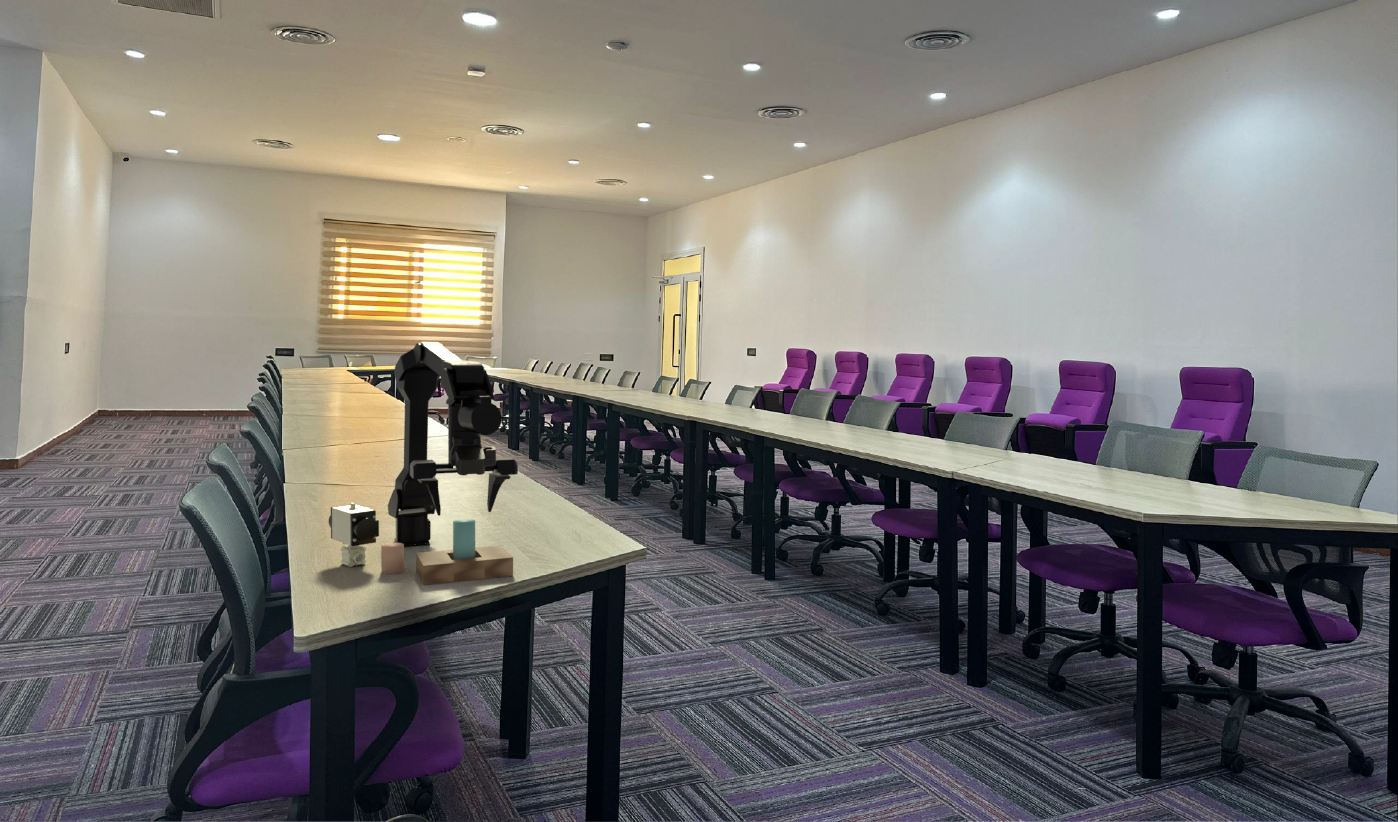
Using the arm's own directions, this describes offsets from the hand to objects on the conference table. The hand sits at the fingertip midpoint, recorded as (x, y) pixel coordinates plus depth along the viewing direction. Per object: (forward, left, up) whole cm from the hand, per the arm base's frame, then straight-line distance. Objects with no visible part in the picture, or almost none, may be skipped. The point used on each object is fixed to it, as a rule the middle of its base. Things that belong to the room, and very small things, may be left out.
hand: (464, 513), depth 153 cm
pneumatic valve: (-18, +15, -12) cm, 26 cm away
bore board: (0, 0, -11) cm, 11 cm away
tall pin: (0, 0, -11) cm, 11 cm away
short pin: (-12, +7, -12) cm, 18 cm away
